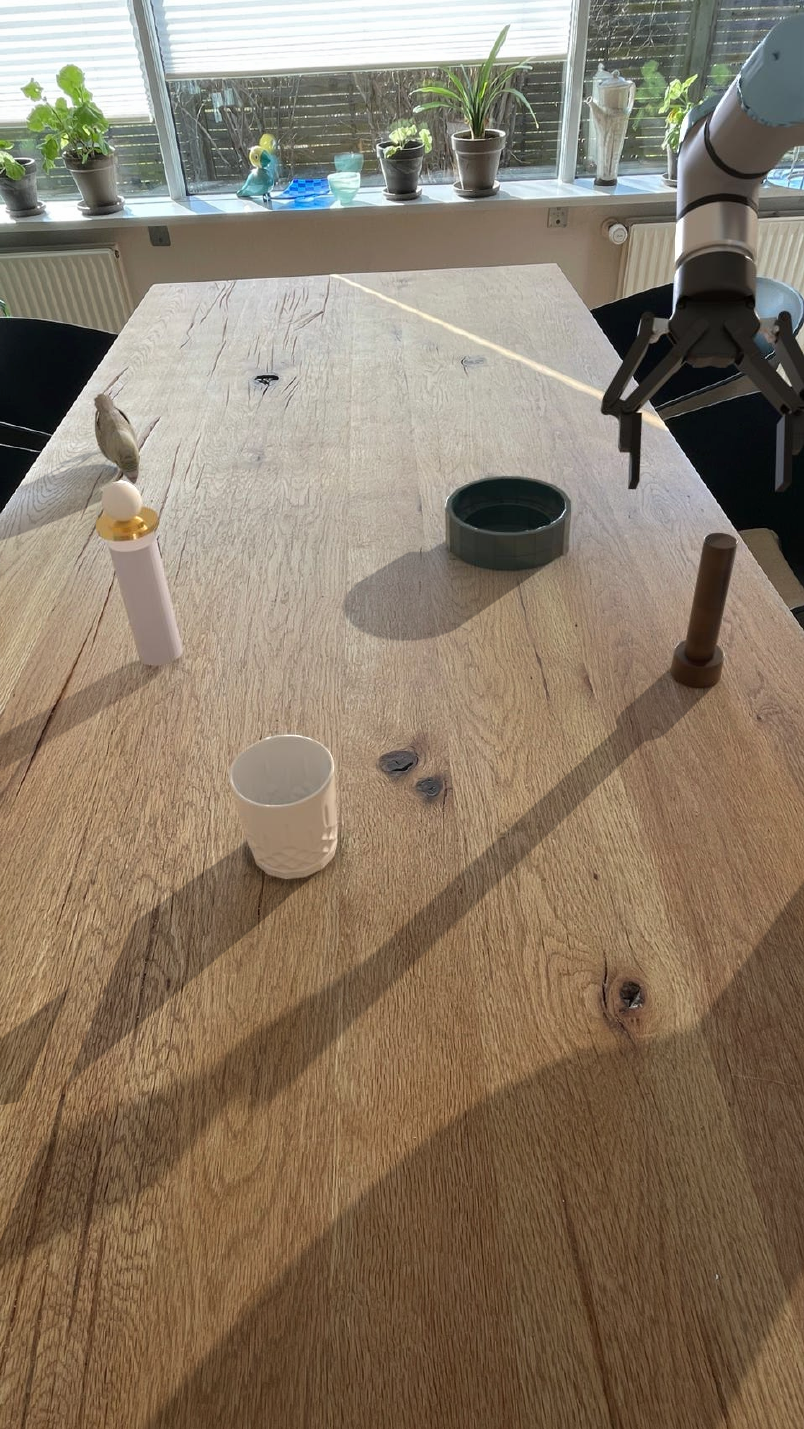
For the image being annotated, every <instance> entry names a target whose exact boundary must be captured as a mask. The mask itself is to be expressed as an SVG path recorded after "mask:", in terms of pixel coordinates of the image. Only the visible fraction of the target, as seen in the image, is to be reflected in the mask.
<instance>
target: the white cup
mask: <svg viewBox="0 0 804 1429" xmlns="http://www.w3.org/2000/svg"><path fill="white" fill-rule="evenodd" d="M335 772H336V771H335V761H334V758H333V756H332V753H331V752H330V750H329V749H328V748H327V747H326V746H325V745H324V744H322V743H321V742H319V741H317V740H316V739H313V738H310V737H308V736H304V735H298V734H282V735H281V734H280V735H274V736H269V737H267V738H263V739H261V740H258V741H255V742H254V743H252V744H250V745H249V746H247V747H246V748H244V749H243V750H242V751H241V752H240V753H238V755H237V756H235V758H234V760H233V762H232V763H231V765H230V768H229V772H228V782H229V787H230V789H231V793H232V797H233V799H234V803H235V806H236V810H237V813H238V816H239V819H240V823H241V826H242V830H243V833H244V836H245V839H246V842H247V846H248V848H249V849H250V851H251V853H252V856H253V858H254V862H255V865H256V866H257V867H259V869H261V870H262V871H263V872H265V873H266V874H267V875H269V876H272V877H276V878H279V879H284V880H290V879H300V878H307V877H309V876H311V875H313V874H316V873H317V872H320V871H321V870H323V869H324V868H325V867H326V866H327V865H328V863H330V861H332V859H333V858H334V857H335V854H336V850H337V846H338V832H339V831H338V830H339V829H338V828H339V826H338V823H339V822H338V803H337V789H336V788H337V787H336V773H335Z"/></svg>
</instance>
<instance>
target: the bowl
mask: <svg viewBox="0 0 804 1429" xmlns="http://www.w3.org/2000/svg"><path fill="white" fill-rule="evenodd" d="M444 517H445V518H444V522H445V549H446V552H447V553H448V554H452V555H454V556H455V557H456V558H457V559H458V560H459V561H461V562H463V563H466V564H468V565H471V566H473V567H475V568H480V569H485V570H490V571H497V572H499V571H501V572H517V571H518V572H519V571H524V570H532V569H536V568H539V567H543V566H544V565H548V564H550V563H552V562H553V561H555V560H557V559H558V558H560V557H561V556H563V557H564V556H566V555H567V554H568V552H569V547H570V533H571V521H572V520H571V519H572V501H571V499H570V497H569V496H568V494H567V493H566V492H565V491H564V490H563V489H561V488H560V487H558V486H557V485H555V484H553V483H550V482H548V481H545V480H541V479H539V478H533V477H527V476H521V475H499V476H491V477H484V478H479V479H476V480H473V481H470V482H469V481H468V482H466V483H465V484H463V485H461V486H459V487H457V488H456V489H454V490H453V491H452V492H451V493H450V495H449V496H448V497H447V498H446V501H445V506H444Z"/></svg>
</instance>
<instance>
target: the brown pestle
mask: <svg viewBox="0 0 804 1429" xmlns="http://www.w3.org/2000/svg"><path fill="white" fill-rule="evenodd" d="M738 544H739V543H738V539H737V538H736V537H734V536H733V535H731V534H729V533H724V532H714V533H709V534H707V535H705V536H704V538H703V542H702V547H701V553H700V560H699V565H698V571H697V576H696V582H695V587H694V593H693V597H692V598H693V599H692V604H691V608H690V609H691V610H690V614H689V621H688V626H687V631H686V637H685V640H682V641H680V642H678V643H677V644H676V645H675V646H674V650H673V653H672V659H671V666H670V676H671V677H672V680H674V681H675V682H676V683H678V684H679V685H681V686H684V687H686V688H690V689H695V690H696V689H697V690H699V689H700V690H702V689H708V688H712V687H714V686H715V685H717V684H718V683H719V681H720V679H721V675H722V670H723V665H724V660H725V653H724V650H723V648H722V647H720V646H719V645H718V640H719V636H720V631H721V626H722V621H723V617H724V611H725V606H726V603H727V598H728V592H729V587H730V582H731V578H732V573H733V572H732V571H733V568H734V562H735V557H736V554H737V549H738Z"/></svg>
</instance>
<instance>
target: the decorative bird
mask: <svg viewBox="0 0 804 1429" xmlns="http://www.w3.org/2000/svg"><path fill="white" fill-rule="evenodd" d="M93 401H94V403H93V404H94V407H95V409H96V410H95V412H94V432H95V433H94V434H95V439H96V442H97V446H98V448H99V450H100V452H101V454H102V455H103V456H104V458H105V459H107V460H108V461H110V462H111V463H114V464H115V465H116V466H117V467H118V468H119V469H120V471H121V472H122V474H123V476H124V477H125V478H126V479H127V480H128V481H129V482H130V483H131V484H132V485H133V484H134V485H135V484H136V483H137V480H138V478H139V475H140V461H141V460H140V459H141V456H140V453H139V452H140V451H139V441H138V437H137V433H136V430H135V428H134V426H133V424H132V422H131V421H130V419H129V417H128V416H127V415H126V413H124V411H122V410H121V409H120V408H118V407H117V406H116V405H115V402H114V400H113V399H112V397H111V395H107V394H104V393H98V394H97V396H95V397H94V398H93Z"/></svg>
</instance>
